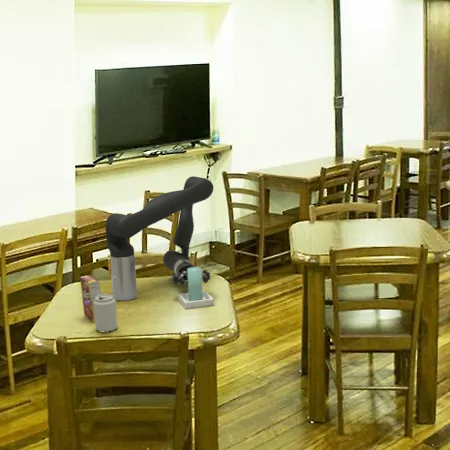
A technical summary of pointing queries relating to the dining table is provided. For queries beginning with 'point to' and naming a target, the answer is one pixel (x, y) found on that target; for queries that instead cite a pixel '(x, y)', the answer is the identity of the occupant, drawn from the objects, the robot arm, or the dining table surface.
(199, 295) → the pale green cylinder
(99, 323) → the can
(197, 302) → the tray
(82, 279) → the candy box
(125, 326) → the dining table surface
